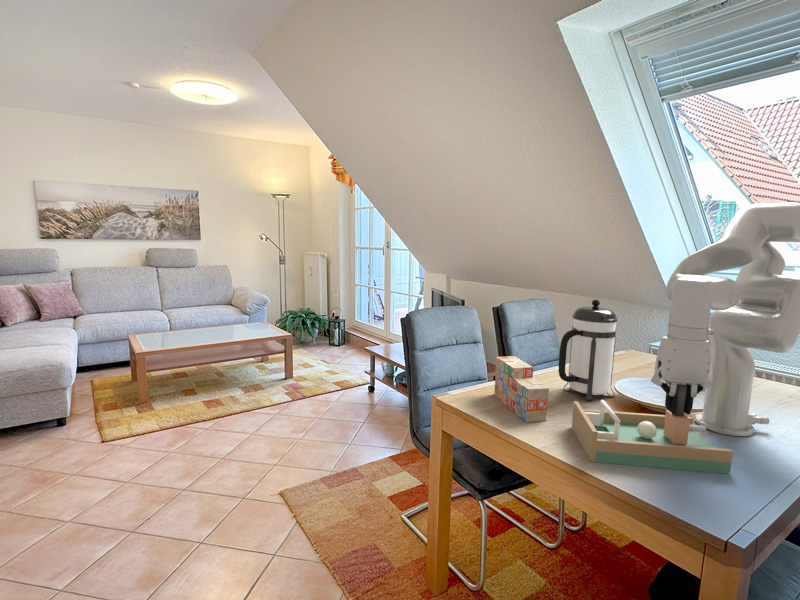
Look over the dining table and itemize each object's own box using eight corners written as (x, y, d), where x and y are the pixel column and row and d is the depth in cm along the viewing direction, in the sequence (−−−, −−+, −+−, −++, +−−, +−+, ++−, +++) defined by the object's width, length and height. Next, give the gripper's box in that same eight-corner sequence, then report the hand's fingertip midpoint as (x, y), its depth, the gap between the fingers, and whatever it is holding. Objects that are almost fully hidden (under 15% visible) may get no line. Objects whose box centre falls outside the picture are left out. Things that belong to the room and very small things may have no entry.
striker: (698, 436, 105) (705, 383, 103) (709, 446, 100) (716, 390, 98) (663, 433, 106) (669, 381, 104) (672, 443, 101) (679, 388, 99)
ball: (651, 435, 106) (653, 419, 105) (658, 442, 102) (660, 426, 101) (633, 433, 106) (635, 417, 106) (640, 441, 102) (641, 424, 102)
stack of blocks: (547, 421, 119) (550, 377, 117) (525, 422, 118) (528, 378, 116) (512, 393, 140) (514, 355, 138) (493, 394, 139) (495, 355, 137)
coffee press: (562, 382, 151) (568, 294, 146) (614, 390, 144) (623, 298, 139) (556, 399, 135) (562, 301, 131) (614, 408, 128) (623, 305, 124)
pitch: (688, 435, 111) (692, 401, 110) (730, 473, 94) (735, 433, 92) (571, 426, 115) (574, 393, 114) (590, 461, 98) (593, 422, 96)
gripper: (716, 331, 102) (706, 407, 105) (642, 328, 104) (634, 403, 107) (736, 338, 95) (725, 420, 98) (656, 335, 97) (647, 415, 99)
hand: (677, 411), depth 102 cm, fingers closed on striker, 2 cm apart
